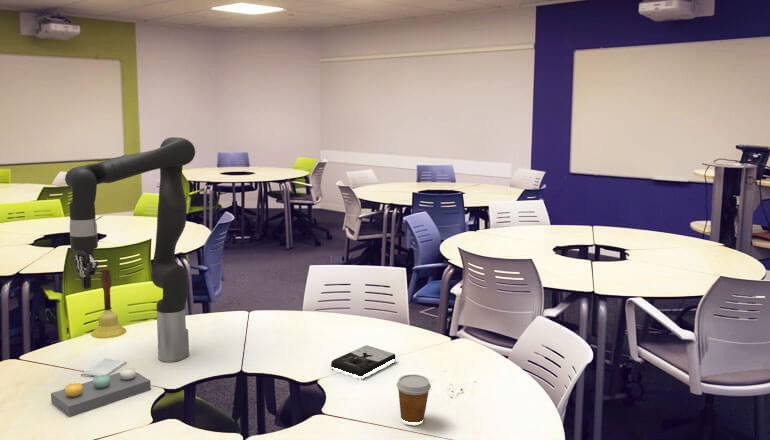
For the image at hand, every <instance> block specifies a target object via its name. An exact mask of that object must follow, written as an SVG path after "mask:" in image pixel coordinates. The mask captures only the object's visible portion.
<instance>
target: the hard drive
mask: <svg viewBox="0 0 770 440" xmlns="http://www.w3.org/2000/svg"><path fill="white" fill-rule="evenodd" d="M127 364H128V363H127V360H122V359H121V360H120V359H112V358H104V359H102V360H100V362H97V363H96V364H95V365H93V366H91V367H89V368H88V369H86V370H85V371H83V372H81V373H80V377H83V378H93V379H94V377H96V376H99V375H108V376H109V375H113V374H115V372H116V371H119V370H121V369H122V368H123V367H124V366H125V365H127Z"/></svg>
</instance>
